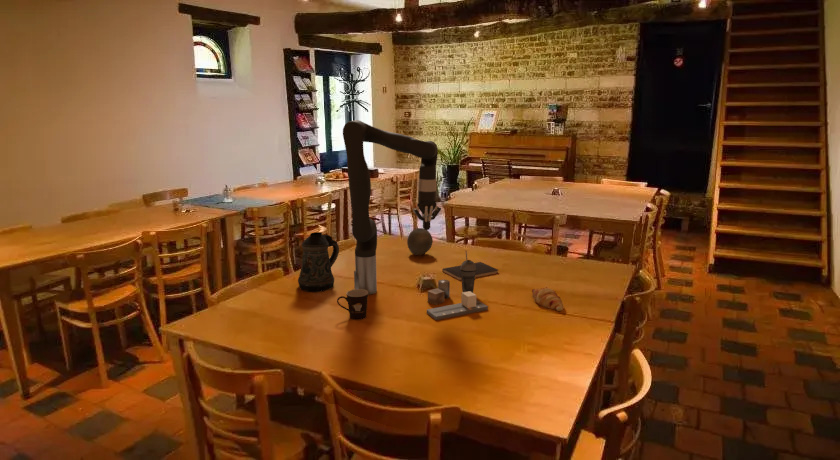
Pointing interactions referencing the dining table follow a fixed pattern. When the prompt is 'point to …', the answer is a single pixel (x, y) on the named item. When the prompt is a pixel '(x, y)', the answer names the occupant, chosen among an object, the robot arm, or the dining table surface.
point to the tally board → (455, 310)
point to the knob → (468, 299)
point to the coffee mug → (356, 303)
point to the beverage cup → (468, 275)
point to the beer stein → (317, 263)
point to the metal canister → (444, 287)
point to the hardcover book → (481, 270)
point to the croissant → (547, 298)
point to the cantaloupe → (419, 241)
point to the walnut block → (436, 296)
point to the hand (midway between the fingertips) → (426, 229)
